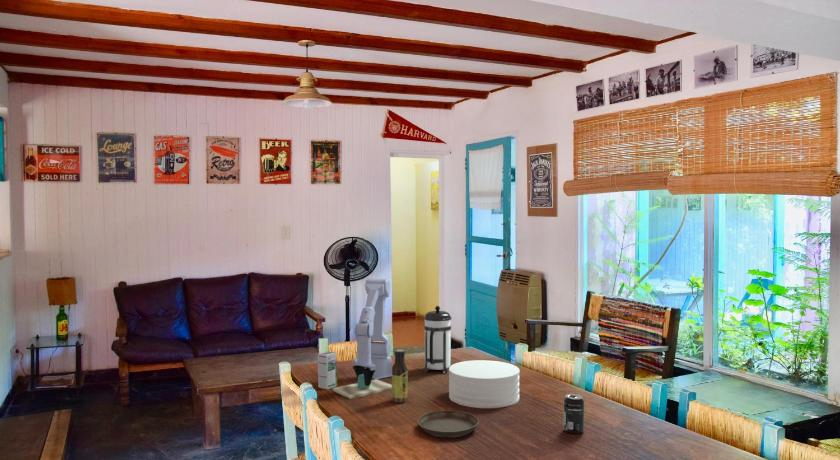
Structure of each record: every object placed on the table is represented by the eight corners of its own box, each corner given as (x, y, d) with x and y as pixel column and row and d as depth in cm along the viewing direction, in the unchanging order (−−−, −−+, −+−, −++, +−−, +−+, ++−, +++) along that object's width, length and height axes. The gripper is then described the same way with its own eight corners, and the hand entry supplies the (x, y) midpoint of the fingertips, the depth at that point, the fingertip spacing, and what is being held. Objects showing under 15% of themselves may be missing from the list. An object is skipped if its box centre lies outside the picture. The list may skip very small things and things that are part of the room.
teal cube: (365, 385, 262) (365, 373, 262) (372, 387, 258) (371, 375, 258) (355, 387, 259) (355, 375, 259) (362, 389, 255) (362, 377, 255)
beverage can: (568, 426, 216) (569, 391, 215) (587, 430, 211) (587, 395, 211) (559, 431, 210) (560, 396, 210) (578, 436, 206) (579, 400, 206)
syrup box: (327, 389, 259) (327, 355, 258) (317, 387, 262) (317, 353, 262) (337, 386, 263) (337, 352, 263) (327, 384, 267) (327, 350, 266)
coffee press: (414, 368, 293) (414, 304, 292) (444, 364, 299) (444, 302, 298) (430, 377, 277) (430, 310, 276) (461, 373, 284) (462, 307, 283)
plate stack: (437, 402, 243) (437, 372, 243) (465, 383, 268) (465, 357, 267) (505, 412, 230) (505, 382, 230) (528, 392, 255) (528, 364, 255)
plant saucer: (428, 443, 200) (428, 433, 200) (411, 422, 220) (411, 413, 220) (487, 436, 206) (487, 427, 206) (465, 416, 226) (465, 407, 226)
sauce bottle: (405, 403, 240) (405, 352, 239) (389, 402, 241) (389, 352, 241) (409, 398, 246) (409, 349, 246) (394, 397, 248) (393, 348, 247)
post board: (376, 381, 271) (376, 370, 271) (395, 388, 260) (395, 376, 260) (332, 390, 257) (332, 378, 257) (350, 398, 246) (350, 386, 246)
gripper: (346, 349, 261) (346, 381, 262) (365, 356, 250) (365, 389, 250) (360, 347, 266) (360, 378, 266) (379, 353, 254) (380, 386, 255)
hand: (364, 384), depth 259 cm, fingers closed on teal cube, 5 cm apart
